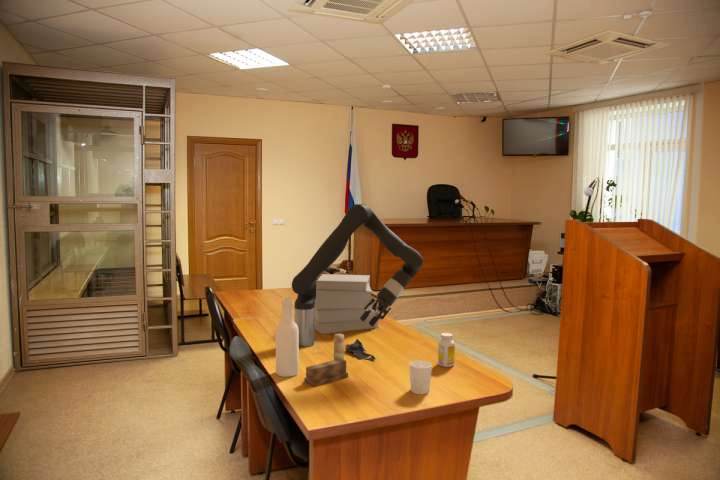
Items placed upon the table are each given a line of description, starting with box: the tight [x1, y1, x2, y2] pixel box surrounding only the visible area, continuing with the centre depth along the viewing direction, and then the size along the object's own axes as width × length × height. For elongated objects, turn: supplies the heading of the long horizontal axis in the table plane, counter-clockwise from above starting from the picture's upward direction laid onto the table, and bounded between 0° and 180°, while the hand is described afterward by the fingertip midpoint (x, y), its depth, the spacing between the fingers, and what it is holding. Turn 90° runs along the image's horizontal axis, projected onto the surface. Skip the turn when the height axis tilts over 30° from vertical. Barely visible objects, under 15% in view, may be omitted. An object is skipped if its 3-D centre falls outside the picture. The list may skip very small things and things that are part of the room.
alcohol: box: [275, 296, 300, 378], centre depth 193 cm, size 9×9×30 cm
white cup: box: [409, 359, 433, 395], centre depth 179 cm, size 8×8×10 cm
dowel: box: [333, 333, 345, 360], centre depth 199 cm, size 4×4×14 cm
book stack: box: [314, 273, 380, 335], centre depth 262 cm, size 30×35×26 cm
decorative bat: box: [345, 338, 377, 360], centre depth 222 cm, size 30×4×10 cm
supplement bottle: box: [437, 332, 456, 368], centre depth 206 cm, size 7×7×13 cm
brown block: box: [303, 359, 349, 388], centre depth 189 cm, size 16×6×6 cm, turn 128°
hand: (365, 322), depth 203 cm, fingers open, 8 cm apart
